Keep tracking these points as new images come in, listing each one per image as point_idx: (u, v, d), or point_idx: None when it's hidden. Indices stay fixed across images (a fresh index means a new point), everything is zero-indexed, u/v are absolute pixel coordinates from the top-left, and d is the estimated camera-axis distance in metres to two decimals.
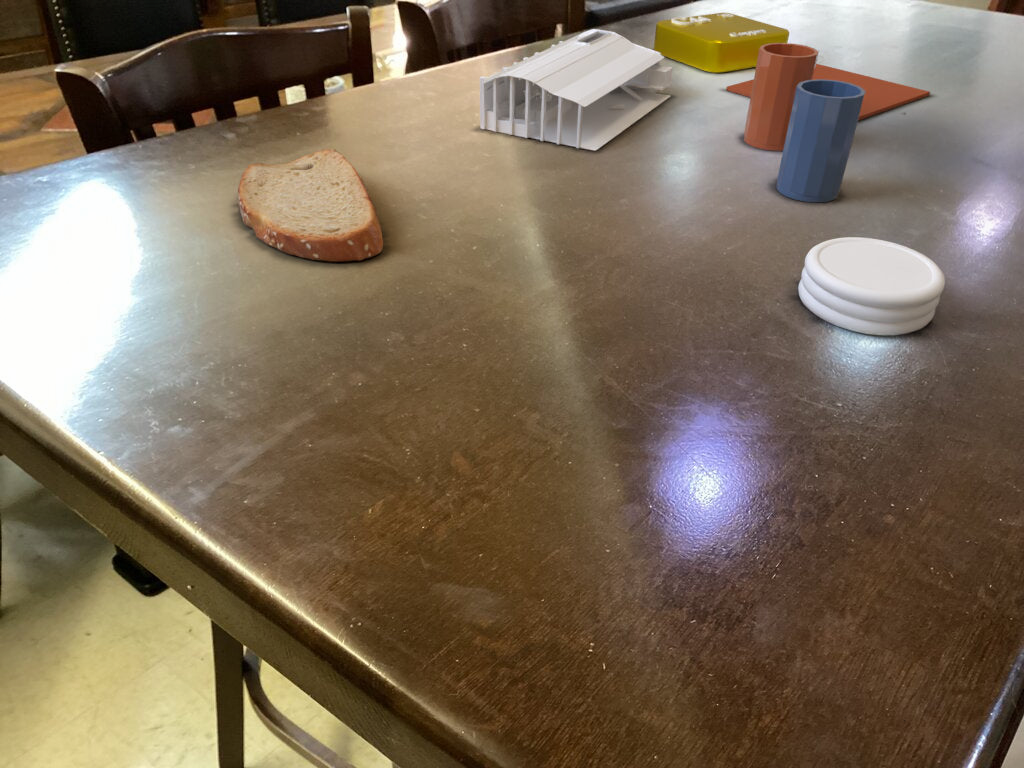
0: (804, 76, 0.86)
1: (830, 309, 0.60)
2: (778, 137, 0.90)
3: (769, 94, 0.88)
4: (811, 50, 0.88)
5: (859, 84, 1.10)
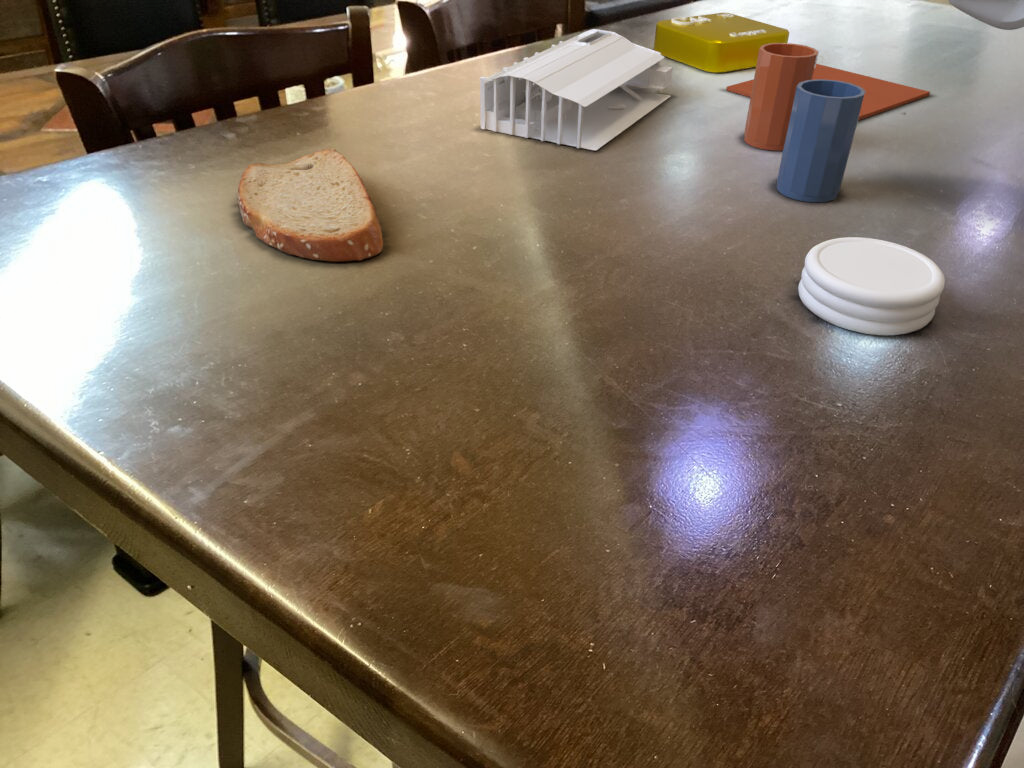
0: (804, 76, 0.86)
1: (830, 309, 0.60)
2: (778, 137, 0.90)
3: (769, 94, 0.88)
4: (811, 50, 0.88)
5: (859, 84, 1.10)
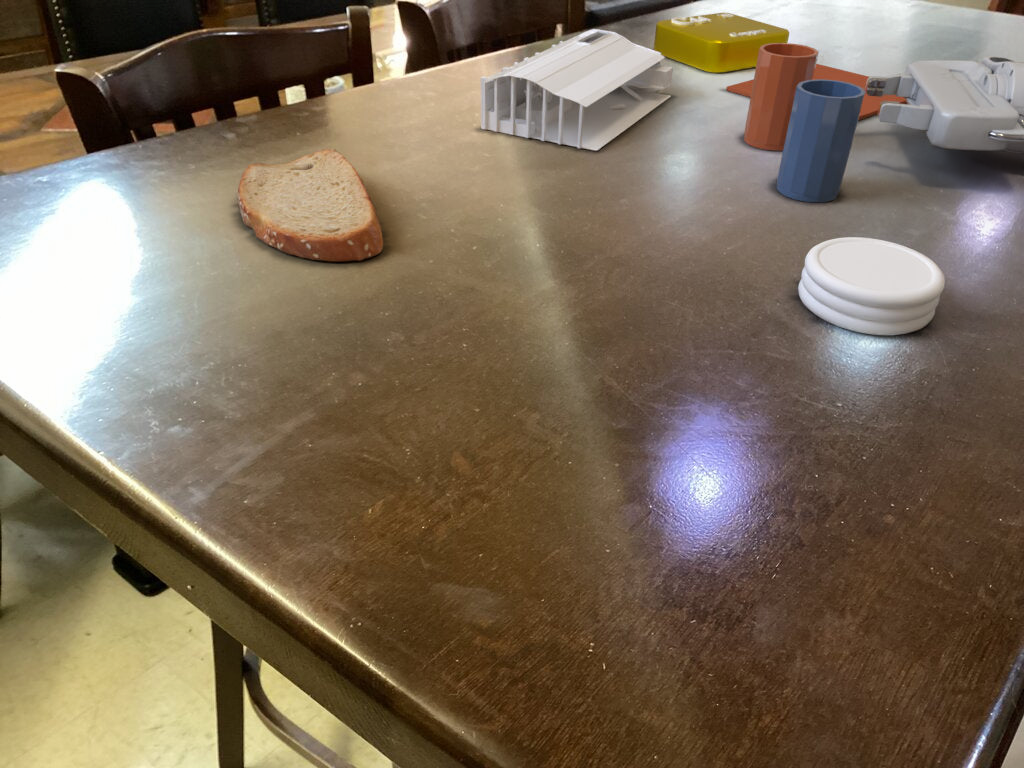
0: (804, 76, 0.86)
1: (830, 309, 0.60)
2: (778, 137, 0.90)
3: (769, 94, 0.88)
4: (811, 50, 0.88)
5: (859, 84, 1.10)
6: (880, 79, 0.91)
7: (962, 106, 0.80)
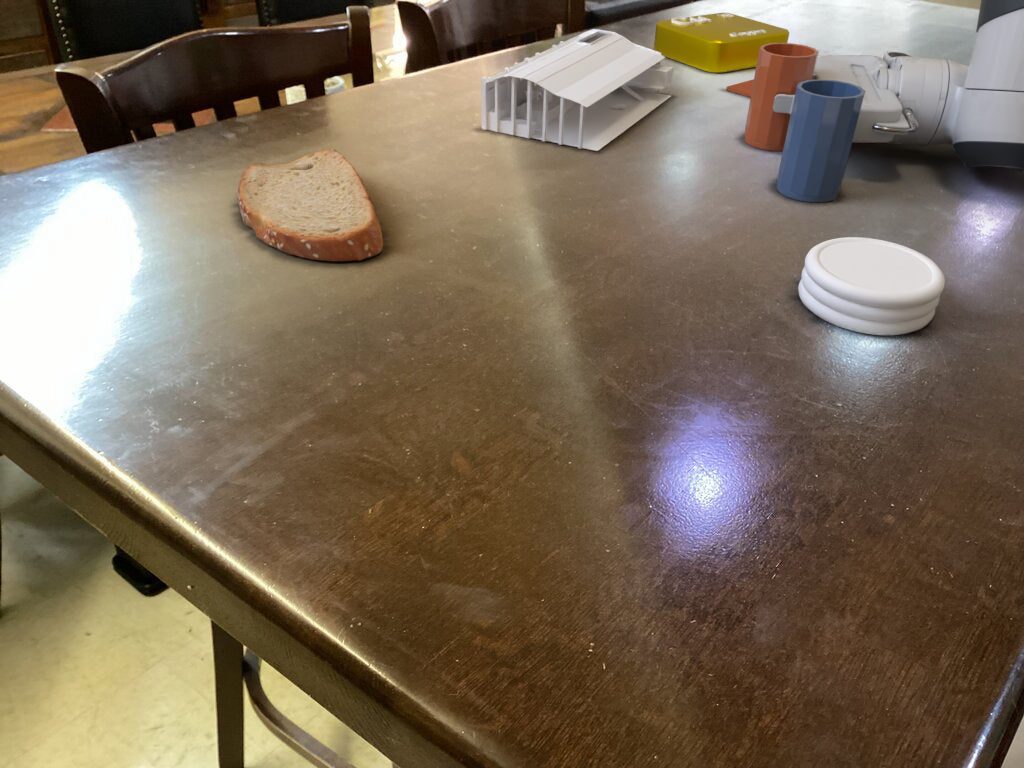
0: (804, 76, 0.86)
1: (830, 308, 0.60)
2: (778, 137, 0.90)
3: (769, 94, 0.88)
4: (811, 50, 0.88)
5: None
6: None
7: None
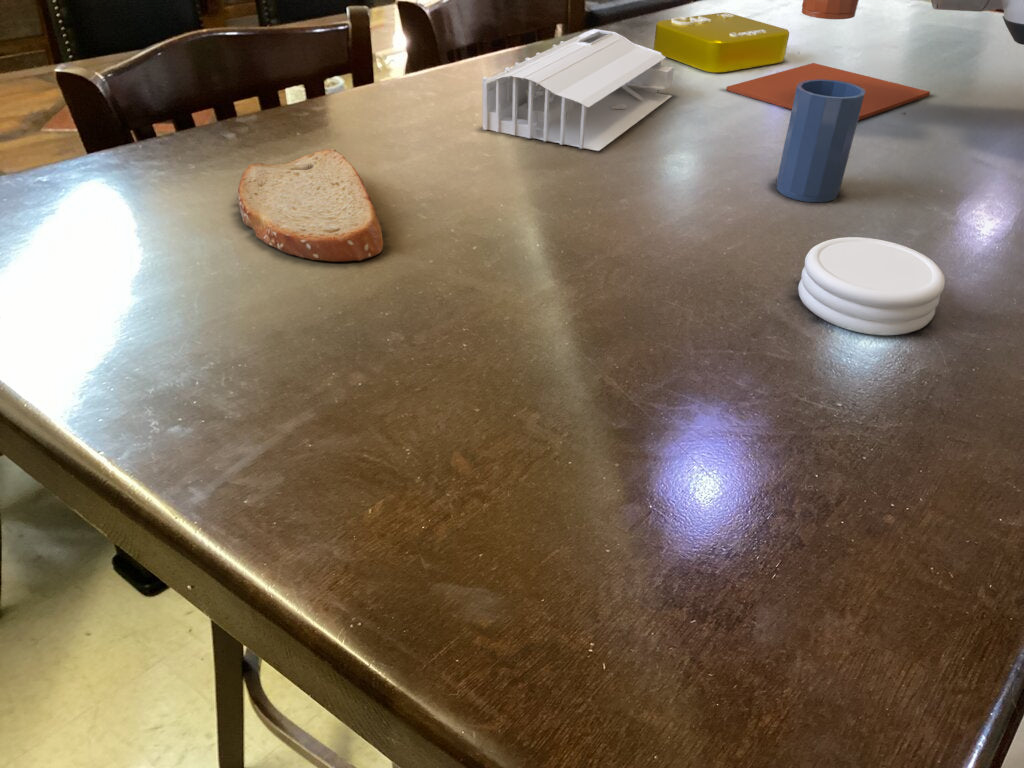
0: None
1: (830, 308, 0.60)
2: (837, 5, 0.92)
3: None
4: None
5: (859, 84, 1.10)
6: None
7: None
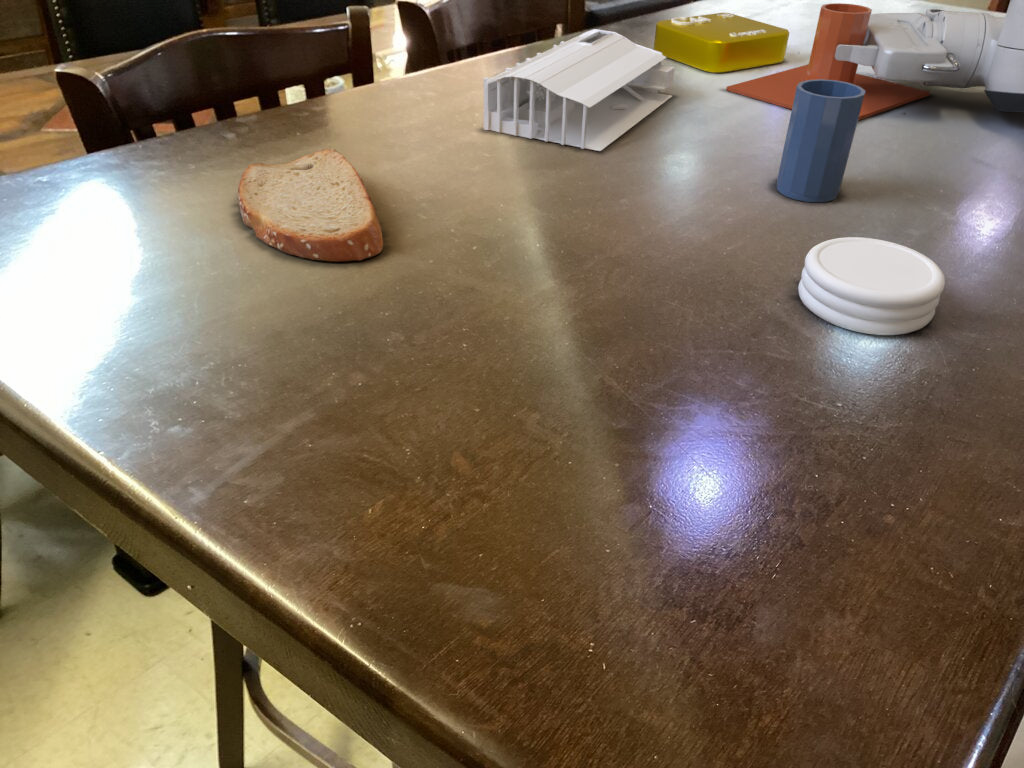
0: (860, 30, 1.01)
1: (830, 308, 0.60)
2: None
3: (829, 46, 1.03)
4: (865, 8, 1.03)
5: (859, 84, 1.10)
6: None
7: (901, 45, 0.97)
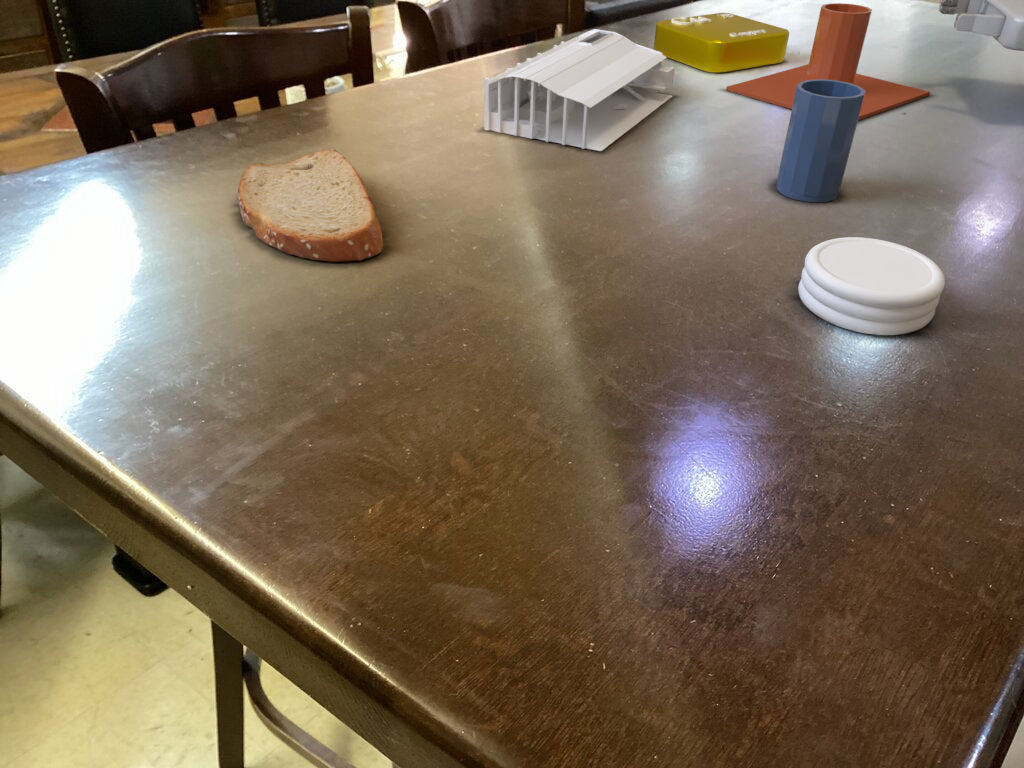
0: (860, 30, 1.01)
1: (830, 308, 0.60)
2: None
3: (829, 46, 1.03)
4: (865, 8, 1.03)
5: (859, 84, 1.10)
6: None
7: None
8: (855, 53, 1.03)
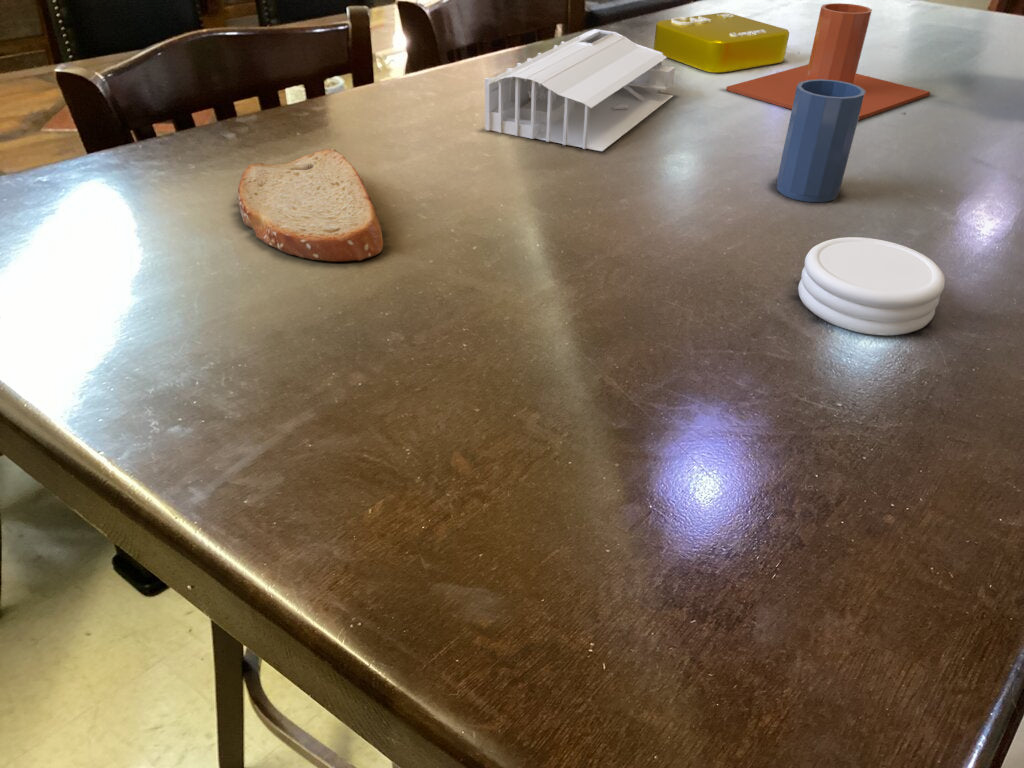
0: (860, 30, 1.01)
1: (830, 309, 0.60)
2: None
3: (829, 46, 1.03)
4: (865, 8, 1.03)
5: (859, 84, 1.10)
6: None
7: None
8: (855, 53, 1.03)
